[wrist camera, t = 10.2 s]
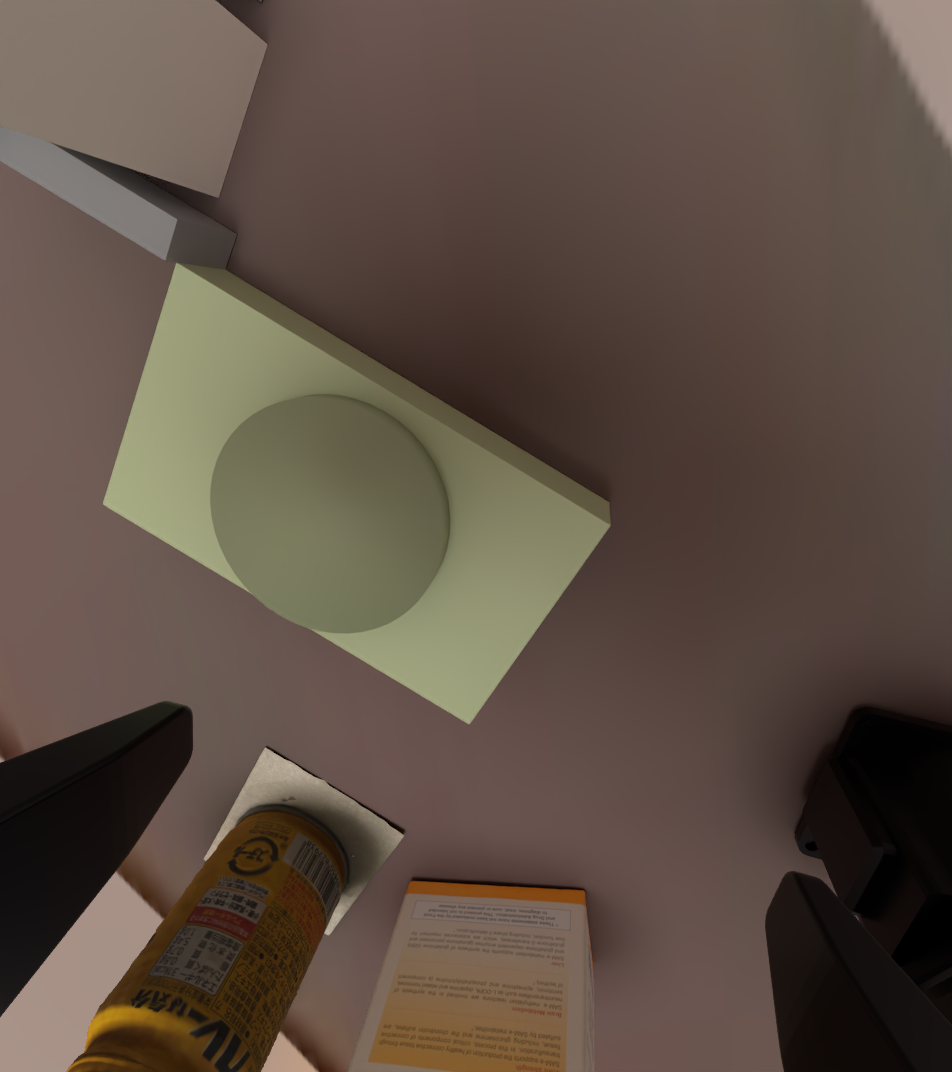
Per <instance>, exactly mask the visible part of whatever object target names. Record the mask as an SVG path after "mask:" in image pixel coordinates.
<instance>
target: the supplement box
mask: <svg viewBox="0 0 952 1072" xmlns="http://www.w3.org/2000/svg"><path fill="white" fill-rule="evenodd" d="M347 1072H594V967H593V959H592V950H591V942H590V934H589V926H588V918H587V908H586V897H585V892H584V890H570V889H562V890H559V889H545V888H529V887H508V886H492V885H476V884H458V883H444V882H443V883H441V882H426V881H411V882H410V883H409V885H408V888H407V891H406V894H405V897H404V900H403V903H402V906H401V909H400V912H399V915H398V918H397V921H396V924H395V927H394V930H393V933H392V936H391V939H390V942H389V945H388V948H387V951H386V954H385V958H384V960H383V963H382V967H381V970H380V973H379V976H378V979H377V982H376V985H375V988H374V991H373V994H372V998H371V1001H370V1004H369V1007H368V1010H367V1013H366V1016H365V1019H364V1022H363V1026H362V1029H361V1032H360V1035H359V1038H358V1041H357V1043H356V1046H355V1050H354V1053H353V1056H352V1059H351V1062H350V1065H349V1068H348V1071H347Z"/></svg>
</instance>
